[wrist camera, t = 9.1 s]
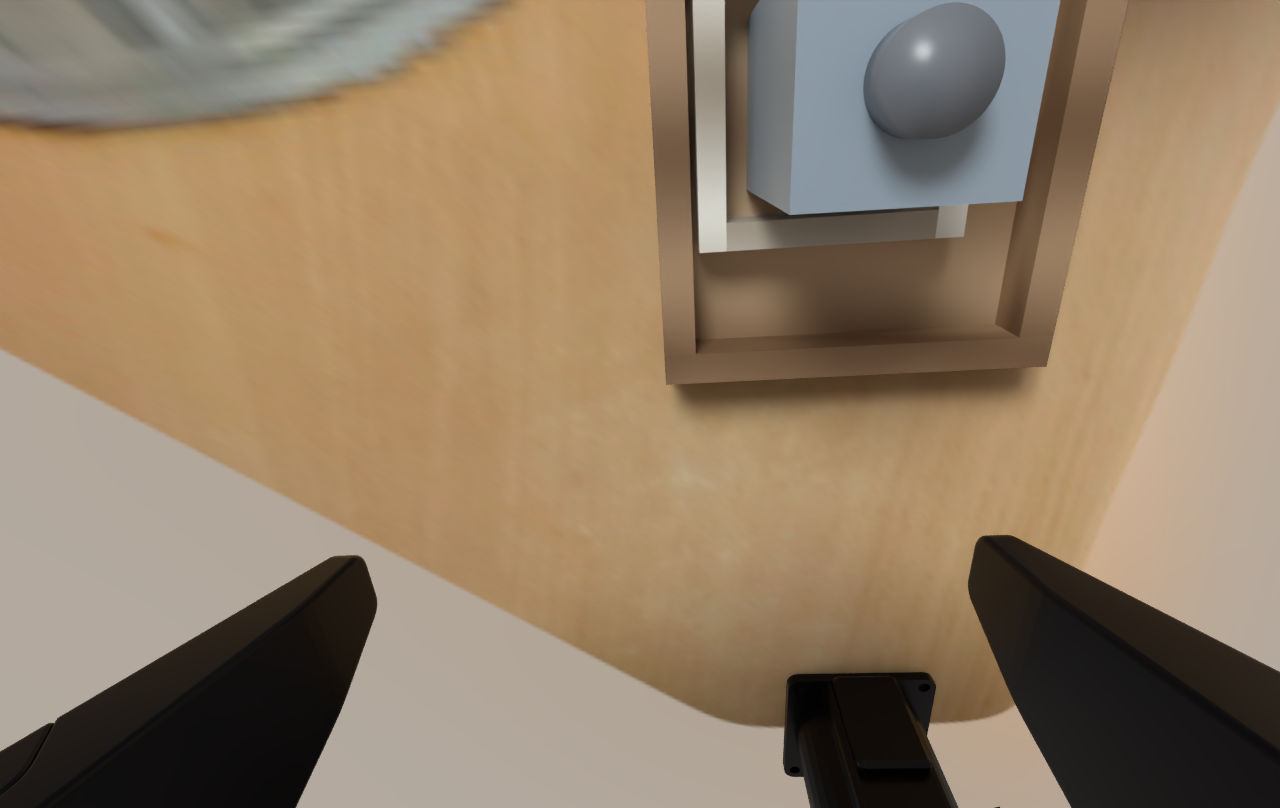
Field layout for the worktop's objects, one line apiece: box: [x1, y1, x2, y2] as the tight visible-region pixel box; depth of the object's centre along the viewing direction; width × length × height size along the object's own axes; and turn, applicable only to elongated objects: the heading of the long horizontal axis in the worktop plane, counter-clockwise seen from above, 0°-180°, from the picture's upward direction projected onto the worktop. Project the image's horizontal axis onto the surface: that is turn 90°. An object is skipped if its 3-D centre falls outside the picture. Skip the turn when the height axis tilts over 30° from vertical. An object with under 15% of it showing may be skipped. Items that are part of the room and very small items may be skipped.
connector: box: [746, 0, 1060, 215], centre depth 13 cm, size 4×4×8 cm
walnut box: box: [645, 0, 1129, 385], centre depth 17 cm, size 13×12×2 cm
